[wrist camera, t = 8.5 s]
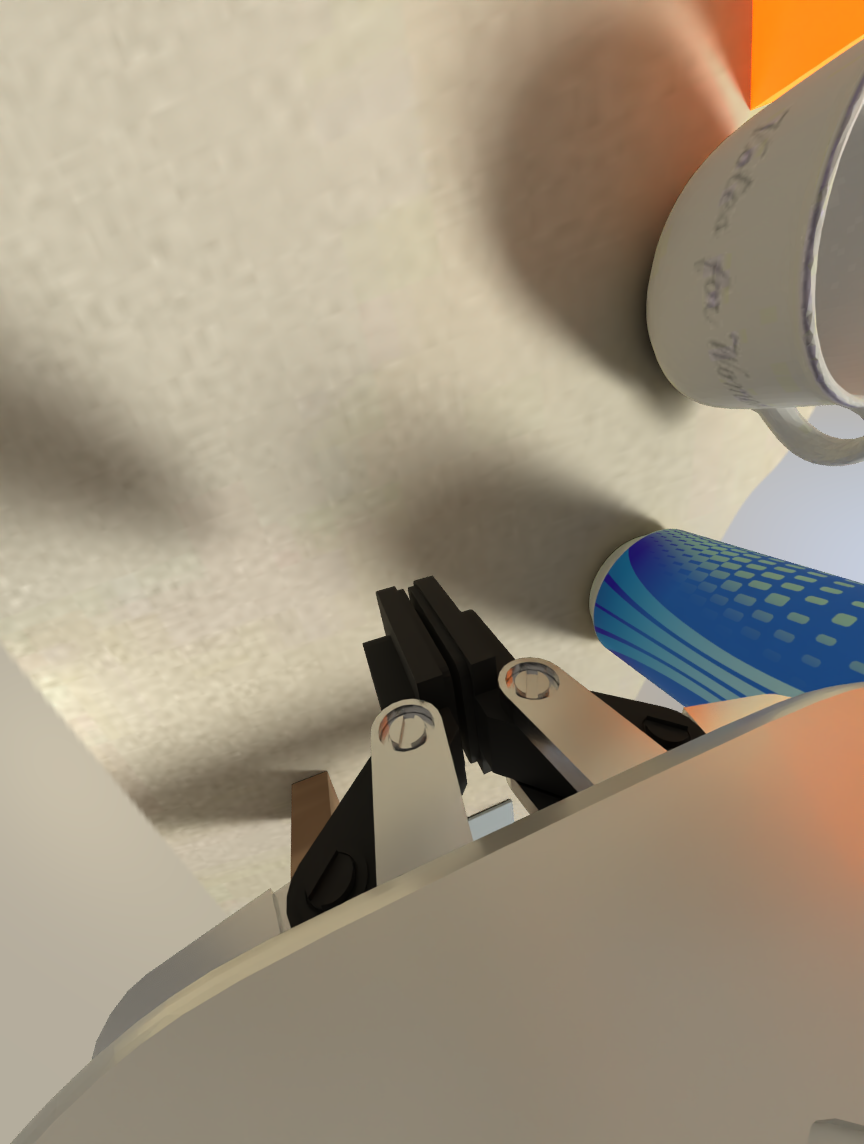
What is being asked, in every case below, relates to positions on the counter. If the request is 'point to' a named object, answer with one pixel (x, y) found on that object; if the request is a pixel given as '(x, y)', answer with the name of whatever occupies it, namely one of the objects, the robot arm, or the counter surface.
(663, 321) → the teacup
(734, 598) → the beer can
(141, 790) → the counter surface
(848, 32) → the orange juice
